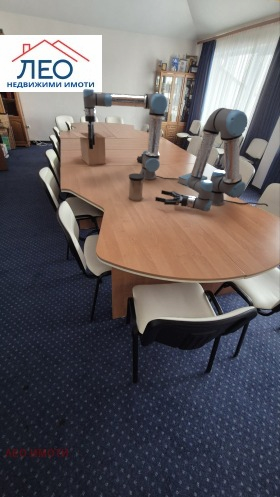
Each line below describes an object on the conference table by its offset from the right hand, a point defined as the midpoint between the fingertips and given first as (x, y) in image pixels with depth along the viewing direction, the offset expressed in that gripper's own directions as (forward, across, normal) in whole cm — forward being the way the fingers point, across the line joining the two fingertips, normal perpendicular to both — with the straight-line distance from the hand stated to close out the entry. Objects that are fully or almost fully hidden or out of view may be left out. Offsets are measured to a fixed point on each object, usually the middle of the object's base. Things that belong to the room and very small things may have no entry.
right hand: (158, 195), depth 157 cm
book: (-14, +59, -7) cm, 61 cm away
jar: (+18, +1, -7) cm, 19 cm away
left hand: (+62, +15, +21) cm, 67 cm away
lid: (+18, +1, +10) cm, 21 cm away
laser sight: (+44, +93, -7) cm, 103 cm away
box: (+95, +67, -7) cm, 116 cm away
